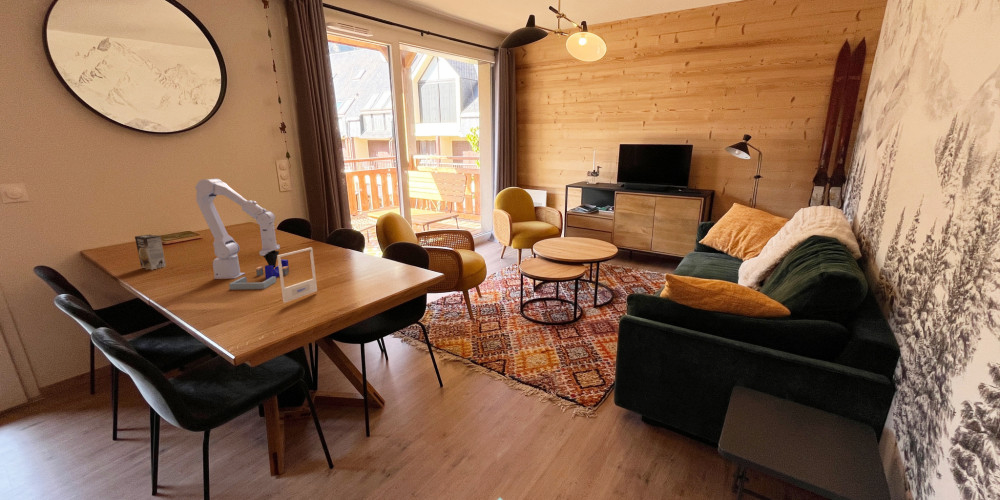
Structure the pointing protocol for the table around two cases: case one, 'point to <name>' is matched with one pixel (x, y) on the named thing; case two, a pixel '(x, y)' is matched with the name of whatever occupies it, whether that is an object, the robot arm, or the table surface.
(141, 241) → the coffee box
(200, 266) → the table surface
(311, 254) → the photo frame
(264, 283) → the grey bent bracket
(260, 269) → the posts
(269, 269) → the blue stepped bar
